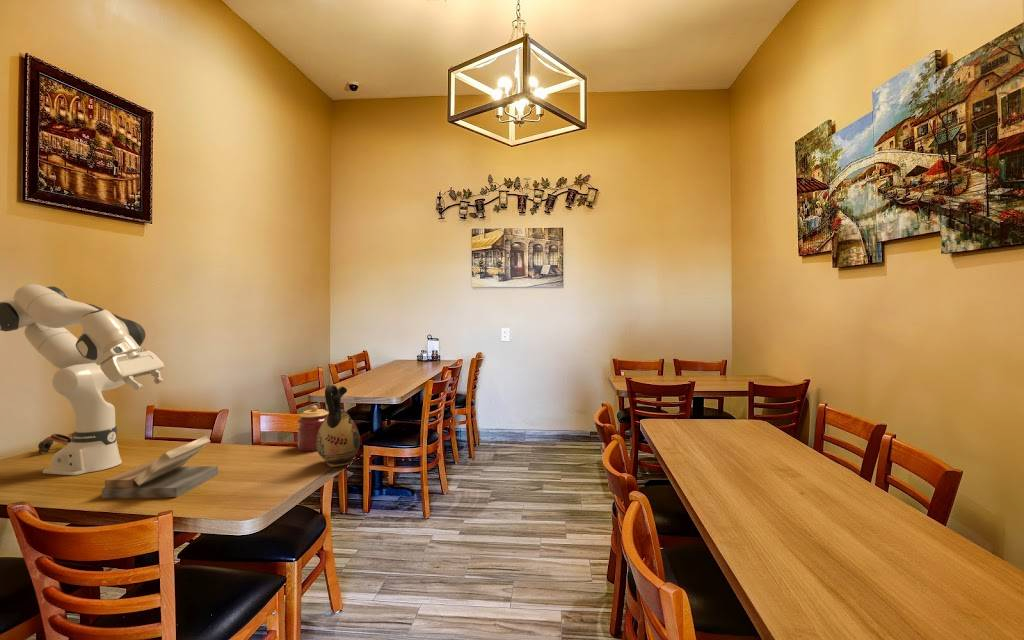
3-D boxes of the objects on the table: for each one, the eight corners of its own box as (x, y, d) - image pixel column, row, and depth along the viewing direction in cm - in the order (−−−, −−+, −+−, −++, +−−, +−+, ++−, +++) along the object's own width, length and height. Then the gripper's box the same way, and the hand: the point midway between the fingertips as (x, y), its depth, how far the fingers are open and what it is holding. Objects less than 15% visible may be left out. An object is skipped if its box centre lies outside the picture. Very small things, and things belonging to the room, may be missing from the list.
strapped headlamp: (45, 450, 196) (58, 432, 198) (67, 459, 197) (80, 441, 199) (23, 451, 184) (38, 431, 187) (47, 460, 185) (61, 441, 188)
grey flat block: (102, 498, 142) (101, 480, 142) (152, 475, 162) (152, 459, 162) (176, 497, 142) (176, 479, 142) (217, 474, 162) (217, 458, 162)
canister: (326, 441, 203) (325, 401, 203) (335, 447, 193) (334, 405, 193) (294, 446, 195) (293, 405, 195) (302, 453, 185) (301, 410, 185)
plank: (139, 485, 142) (133, 479, 142) (182, 465, 161) (178, 459, 161) (170, 458, 142) (165, 452, 142) (210, 441, 161) (206, 435, 161)
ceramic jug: (329, 456, 181) (328, 380, 181) (367, 457, 180) (365, 380, 179) (305, 471, 164) (304, 387, 164) (347, 472, 163) (345, 387, 162)
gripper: (139, 353, 163) (164, 384, 164) (89, 362, 142) (118, 398, 143) (154, 343, 163) (178, 374, 164) (106, 350, 142) (134, 386, 143)
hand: (150, 385), depth 153 cm, fingers open, 8 cm apart
